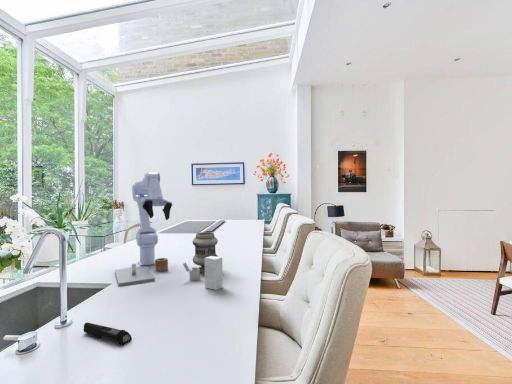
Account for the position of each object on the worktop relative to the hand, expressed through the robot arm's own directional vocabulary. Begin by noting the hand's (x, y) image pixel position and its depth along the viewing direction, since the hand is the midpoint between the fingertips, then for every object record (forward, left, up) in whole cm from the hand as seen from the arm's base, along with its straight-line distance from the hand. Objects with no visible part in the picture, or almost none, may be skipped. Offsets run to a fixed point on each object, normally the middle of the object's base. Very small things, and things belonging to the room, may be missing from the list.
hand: (159, 217), depth 132 cm
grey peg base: (-6, -10, -26) cm, 29 cm away
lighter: (+11, +11, -26) cm, 31 cm away
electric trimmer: (+48, -23, -27) cm, 60 cm away
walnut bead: (-11, +3, -26) cm, 29 cm away
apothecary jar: (+1, +21, -26) cm, 34 cm away
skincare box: (+25, +16, -26) cm, 40 cm away
